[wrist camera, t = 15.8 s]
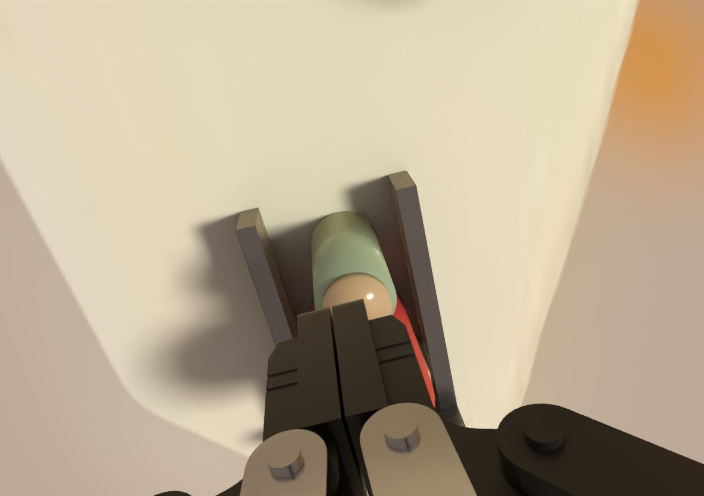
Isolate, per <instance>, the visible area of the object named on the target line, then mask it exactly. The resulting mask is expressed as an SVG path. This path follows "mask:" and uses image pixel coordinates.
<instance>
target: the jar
mask: <svg viewBox="0 0 704 496" xmlns="http://www.w3.org/2000/svg"><path fill="white" fill-rule="evenodd" d="M311 259H312V274H313V289H314V304H315V310H319V309H323V308H327V307H330V309H331V312H332V306H335V305H339V304H343V303H347V302H351V301H355V300H359V299H364V303H365V307H366V311H367V315H368V319H369V320H372V319H376V318H380V317H384V316H388V315H393V314H394V311H395V308H396V304H397V295H396V290H395V287H394V284H393V282H392V279H391V276H390V273H389V270H388V267H387V265H386V262H385V259H384V256H383V253H382V250H381V248H380V245H379V242H378V239H377V236H376V233H375V231H374V228H373V227H372V225H371V224H370V222H369V221H368V220H367V219H365V218H364V217H363V216H361V215H359V214H356V213H353V212H347V211H342V212H336V213H333V214H330V215H328V216H326V217H325V218H323V219H322V220H321V221H320V222H319V223H318V224H317V225H316V227H315V228H314V230H313V232H312V236H311ZM332 316H333V314H332Z"/></svg>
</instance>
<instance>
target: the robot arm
mask: <svg viewBox="0 0 704 496" xmlns="http://www.w3.org/2000/svg"><path fill="white" fill-rule="evenodd" d="M332 314H333V316H332ZM267 376H268V379H267V388H266V390H267V393H266V402H265V416H264V430H263V443H261V444H260V445H259V446H258V447H257V448H256V449H255V450H254V451H253V453H252V454H251V456H250V457H249V459H248V461H247V464H246V467H245V471H244V476H243V479H242V480H241V481H239V482H238V483H237V484H235V485H234V486H232V487H231V488H229V489H227V490H226V491H224V492H222V493H220V494H219V495H216V496H368V495H369V496H704V464H702V463H699V462H697V461H694V460H692V459H689V458H687V457H684V456H682V455H680V454H677V453H675V452H672V451H670V450H667V449H665V448H662V447H660V446H657V445H655V444H653V443H650V442H648V441H645V440H643V439H640V438H638V437H635V436H633V435H630V434H628V433H625V432H623V431H621V430H618V429H616V428H613V427H611V426H608V425H606V424H603V423H601V422H598V421H596V420H593V419H591V418H589V417H586V416H584V415H581V414H579V413H576V412H574V411H571V410H569V409H566V408H563V407H560V406H557V405H551V404H531V405H526V406H523V407H520V408H517V409H515V410H513V411H512V412H510V413H509V414H507V415H506V416H505V417H504V418H503V420H502V421H501V422H500V424H499V427H498V429H476V428H467V427H462V426H459V425H456V424H454V423H452V422H449V421H448V420H446V419H445V418H443V417H442V416H441V415H440V414H439V413H438V412H437V411H436V409H435V408H434V406H433V404H432V401H431V398H430V395H429V392H428V389H427V386H426V383H425V380H424V377H423V374H422V372H421V369H420V366H419V363H418V360H417V357H416V355H415V351H414V348H413V345H412V343H411V339H410V337H409V334H408V331H407V328H406V325H405V324H403V323H402V322H401V321H400V320H398V319H397V318H396V317H394V316H393V315H388V316H384V317H380V318H376V319H372V320H369V319H368V315H367V311H366V307H365V303H364V299H359V300H355V301H351V302H347V303H343V304H339V305H335V306H332V312H331V309H330V307H327V308H323V309H319V310H315V311H311V312H307V313H302V314H298V315H297V338H295V339H291V340H286V341H282V342H279V343H278V345H277V346H276V348H275V349H274V351H273V353H272V354H271V356H270V357H269V359H268V373H267ZM367 492H368V495H367ZM155 496H191V495H189V494H188V493H185V492H181V491H168V492H164V493H160V494H157V495H155Z"/></svg>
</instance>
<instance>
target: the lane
mask: <svg viewBox="0 0 704 496" xmlns="http://www.w3.org/2000/svg"><path fill="white" fill-rule="evenodd" d="M388 177H389V182H390V187H391V191H392V196H393V201H394V206H395V211H396V216H397V220H398V225H399V230H400V235H401V240H402V245H403V249H404V254H405V259H406V264H407V269H408V273H409V278H410V283H411V288H412V293H413V298H414V302H415V307H416V312H417V317H418V322H419V326H420V331H421V336H422V341H423V346H424V351H425V355H426V360H427V365H428V369H429V372H430V377H431V381H432V386H433V390H434V395H435V409H436V411H437V412H438V413H439V414H440V415H441V416H442V417H443V418H445V419H446V420H448V421H449V422H452V423H454V424H456V425H459V426H462V427H465V424H464V422H463V419H462V417H461V414H460V412H459V409H458V407H457V402H456V397H455V392H454V386H453V381H452V376H451V370H450V365H449V359H448V354H447V349H446V343H445V338H444V333H443V327H442V322H441V316H440V311H439V306H438V300H437V295H436V290H435V284H434V279H433V273H432V268H431V263H430V257H429V252H428V247H427V241H426V236H425V230H424V225H423V220H422V214H421V209H420V204H419V198H418V193H417V187H416V184H415V183H414V181H413V180H412V178H411V177H410V175H409V174H408V172H407V171H404V172H400V173H396V174H392V175H388ZM236 233H237V236H238V239H239V241H240V244H241V247H242V250H243V253H244V256H245V259H246V262H247V264H248V267H249V270H250V273H251V276H252V279H253V282H254V285H255V287H256V290H257V293H258V296H259V299H260V302H261V305H262V308H263V310H264V313H265V316H266V319H267V322H268V325H269V328H270V330H271V333H272V336H273V339H274V342H275V345H276V346H277V345H278V343H279V342H282V341H286V340H291V339H295V338H297V326H296V323H295V320H294V316H293V313H292V310H291V307H290V304H289V301H288V298H287V295H286V292H285V289H284V285H283V282H282V279H281V276H280V273H279V270H278V267H277V264H276V261H275V258H274V254H273V251H272V248H271V245H270V242H269V239H268V236H267V233H266V230H265V227H264V223H263V220H262V217H261V214H260V211H259V208H256V209H252V210H248V211H244V212H240V215H239V219H238V223H237V227H236Z"/></svg>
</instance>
